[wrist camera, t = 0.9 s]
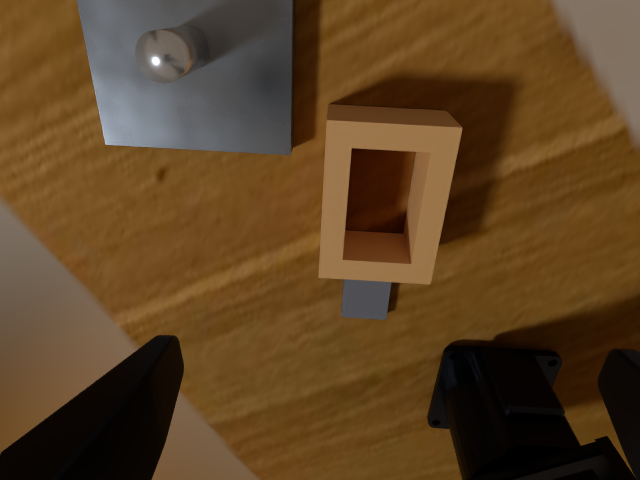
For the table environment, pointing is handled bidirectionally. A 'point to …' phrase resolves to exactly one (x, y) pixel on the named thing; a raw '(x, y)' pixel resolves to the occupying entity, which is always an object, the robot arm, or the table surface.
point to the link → (424, 199)
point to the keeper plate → (193, 72)
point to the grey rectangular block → (365, 299)
